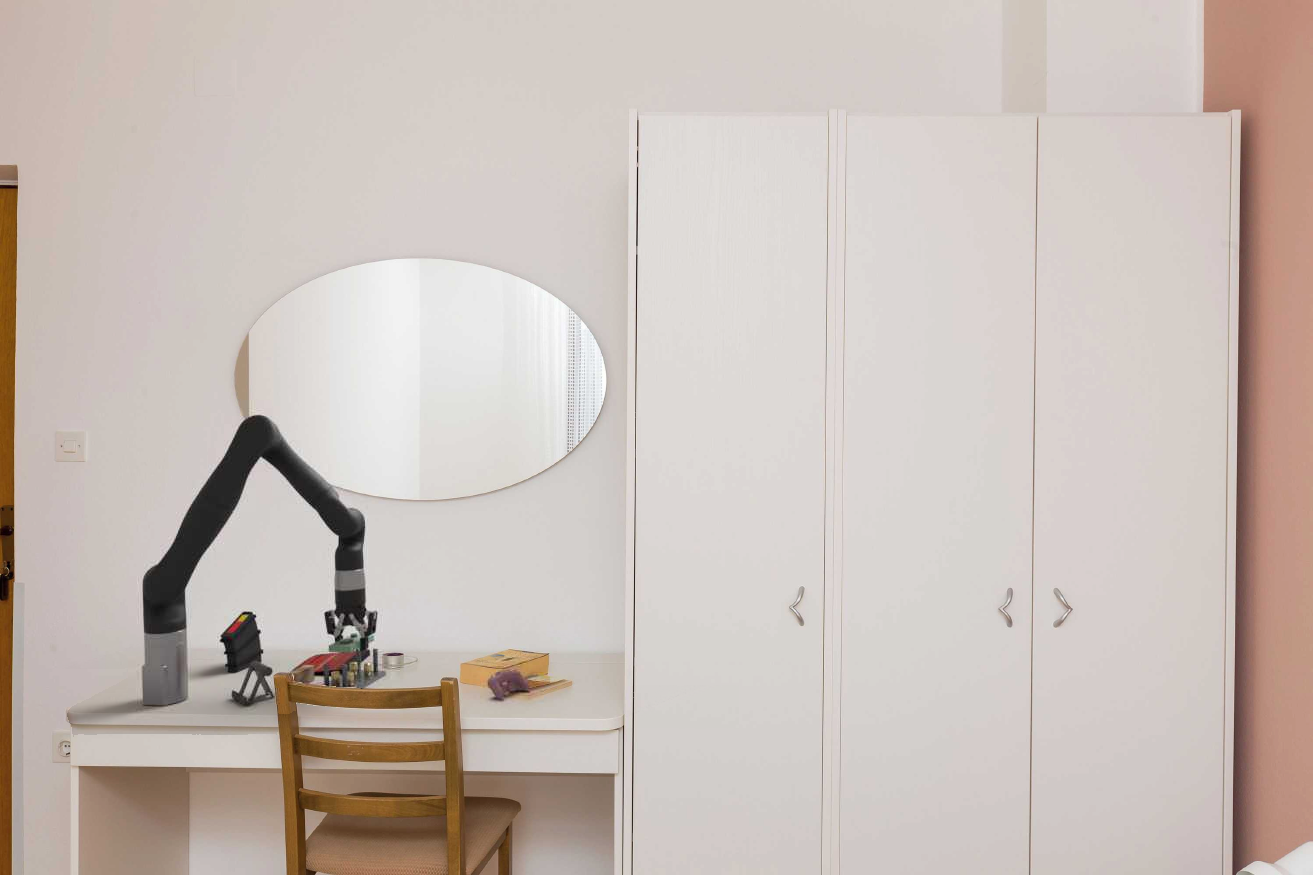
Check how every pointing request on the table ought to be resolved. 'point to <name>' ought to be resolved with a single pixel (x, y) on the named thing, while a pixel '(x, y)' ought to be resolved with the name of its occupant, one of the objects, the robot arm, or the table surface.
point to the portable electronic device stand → (261, 672)
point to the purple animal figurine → (512, 680)
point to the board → (348, 643)
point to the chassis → (354, 673)
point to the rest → (304, 674)
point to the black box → (242, 642)
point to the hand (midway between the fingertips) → (352, 650)
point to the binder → (332, 661)
